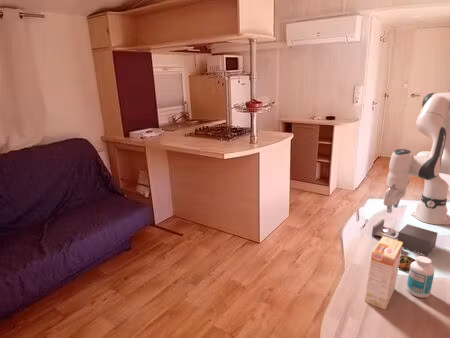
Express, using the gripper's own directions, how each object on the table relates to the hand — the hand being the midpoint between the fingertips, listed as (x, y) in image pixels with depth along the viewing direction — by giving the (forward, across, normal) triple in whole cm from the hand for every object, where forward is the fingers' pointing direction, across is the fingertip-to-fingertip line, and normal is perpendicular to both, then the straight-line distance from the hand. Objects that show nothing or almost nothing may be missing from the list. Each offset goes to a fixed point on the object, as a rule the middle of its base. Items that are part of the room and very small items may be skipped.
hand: (392, 209), depth 153 cm
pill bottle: (+14, -40, -23) cm, 48 cm away
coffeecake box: (+14, -52, -14) cm, 55 cm away
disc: (+12, 0, 0) cm, 13 cm away
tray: (+14, 0, -1) cm, 14 cm away
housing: (+15, 0, -12) cm, 19 cm away
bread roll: (+15, -23, -14) cm, 31 cm away
